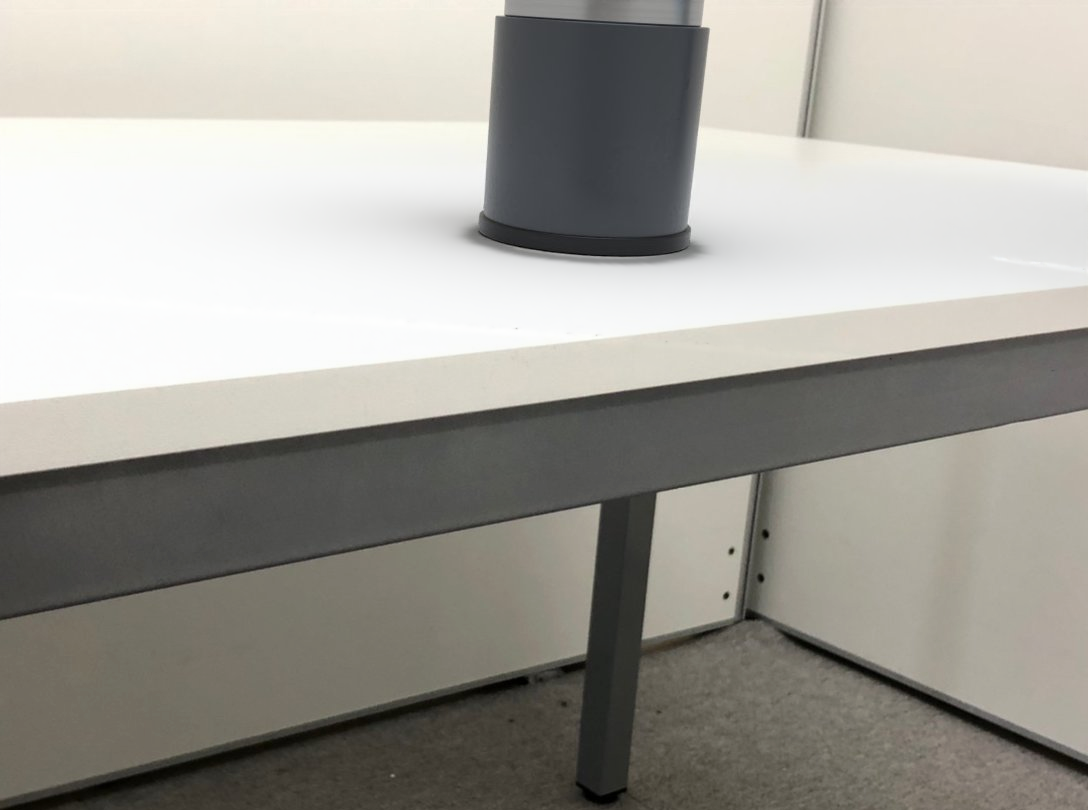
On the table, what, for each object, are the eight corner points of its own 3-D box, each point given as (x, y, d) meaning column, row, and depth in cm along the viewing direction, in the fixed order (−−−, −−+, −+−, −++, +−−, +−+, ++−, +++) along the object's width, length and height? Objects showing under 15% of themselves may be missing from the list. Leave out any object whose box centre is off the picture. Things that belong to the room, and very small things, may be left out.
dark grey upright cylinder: (683, 226, 69) (711, -17, 65) (695, 262, 59) (729, -21, 55) (487, 212, 70) (502, -28, 66) (467, 246, 60) (484, -34, 56)
